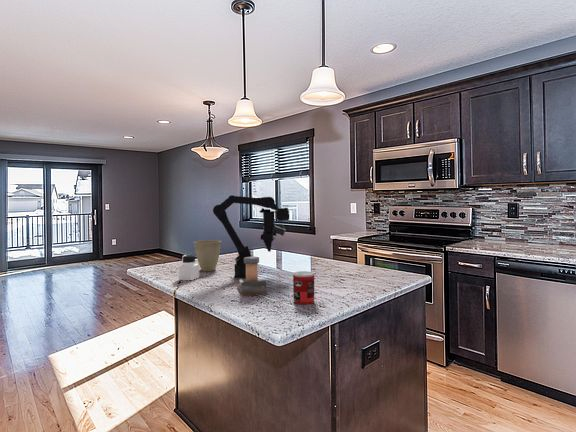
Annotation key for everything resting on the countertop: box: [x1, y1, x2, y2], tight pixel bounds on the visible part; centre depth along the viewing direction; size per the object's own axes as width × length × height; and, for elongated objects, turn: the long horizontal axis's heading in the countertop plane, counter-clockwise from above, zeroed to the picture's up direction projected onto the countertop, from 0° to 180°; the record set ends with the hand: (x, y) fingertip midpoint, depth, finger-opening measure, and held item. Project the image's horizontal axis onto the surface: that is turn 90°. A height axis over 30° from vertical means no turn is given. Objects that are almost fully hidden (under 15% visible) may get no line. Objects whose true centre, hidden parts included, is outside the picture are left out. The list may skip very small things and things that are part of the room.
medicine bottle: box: [178, 254, 200, 281], centre depth 177 cm, size 7×7×12 cm
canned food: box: [292, 270, 315, 305], centre depth 136 cm, size 8×8×11 cm
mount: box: [237, 278, 267, 297], centre depth 153 cm, size 14×10×6 cm
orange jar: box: [244, 256, 260, 281], centre depth 151 cm, size 6×6×13 cm
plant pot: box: [193, 239, 222, 272], centre depth 199 cm, size 15×15×16 cm
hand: (269, 251), depth 184 cm, fingers closed
